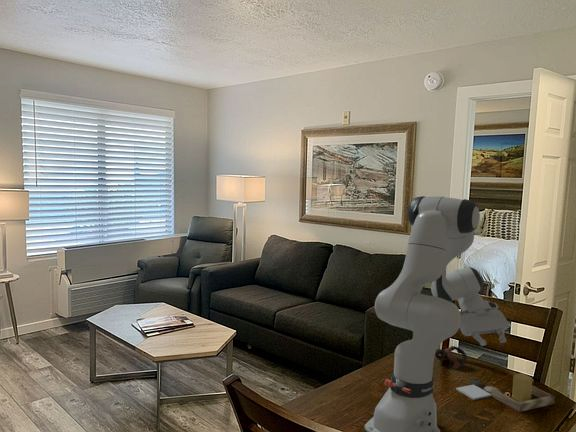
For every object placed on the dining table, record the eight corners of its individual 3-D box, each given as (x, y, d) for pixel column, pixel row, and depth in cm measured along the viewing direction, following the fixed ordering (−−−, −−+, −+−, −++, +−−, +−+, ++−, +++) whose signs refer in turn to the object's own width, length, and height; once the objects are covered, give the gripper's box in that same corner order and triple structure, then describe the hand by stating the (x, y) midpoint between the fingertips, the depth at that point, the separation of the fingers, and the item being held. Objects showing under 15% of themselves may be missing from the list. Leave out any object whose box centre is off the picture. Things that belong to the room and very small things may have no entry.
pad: (473, 400, 148) (473, 398, 147) (455, 389, 155) (456, 387, 155) (491, 396, 151) (491, 394, 150) (473, 386, 158) (473, 384, 158)
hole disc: (480, 388, 156) (480, 387, 156) (466, 383, 160) (466, 382, 160) (486, 384, 160) (486, 383, 160) (473, 379, 163) (473, 379, 163)
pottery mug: (456, 360, 183) (465, 346, 179) (461, 378, 175) (471, 365, 171) (428, 352, 182) (437, 339, 178) (433, 371, 174) (442, 357, 170)
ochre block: (522, 403, 146) (523, 379, 146) (512, 397, 150) (513, 374, 149) (530, 401, 148) (532, 377, 147) (520, 395, 152) (522, 373, 151)
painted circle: (496, 394, 152) (496, 394, 152) (481, 389, 155) (481, 388, 155) (502, 390, 155) (502, 389, 155) (487, 385, 159) (487, 384, 159)
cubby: (519, 411, 140) (519, 404, 140) (491, 396, 150) (492, 389, 150) (554, 403, 146) (555, 396, 146) (525, 389, 157) (526, 382, 156)
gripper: (458, 307, 161) (477, 342, 153) (499, 303, 169) (520, 336, 161) (448, 316, 166) (467, 350, 158) (489, 311, 174) (509, 344, 165)
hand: (494, 343), depth 159 cm, fingers open, 8 cm apart
